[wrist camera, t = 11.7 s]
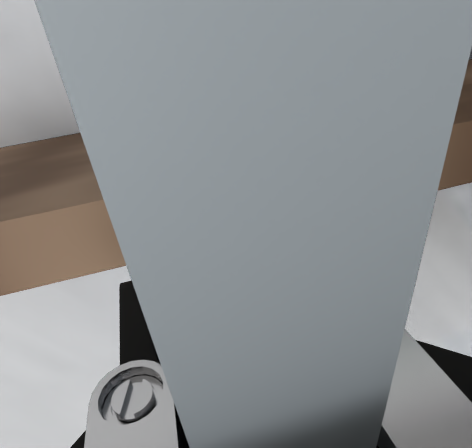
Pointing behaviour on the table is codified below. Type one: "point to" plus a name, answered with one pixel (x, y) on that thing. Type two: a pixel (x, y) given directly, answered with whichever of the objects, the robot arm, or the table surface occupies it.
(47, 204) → the walnut board
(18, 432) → the table surface
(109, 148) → the grey panel
